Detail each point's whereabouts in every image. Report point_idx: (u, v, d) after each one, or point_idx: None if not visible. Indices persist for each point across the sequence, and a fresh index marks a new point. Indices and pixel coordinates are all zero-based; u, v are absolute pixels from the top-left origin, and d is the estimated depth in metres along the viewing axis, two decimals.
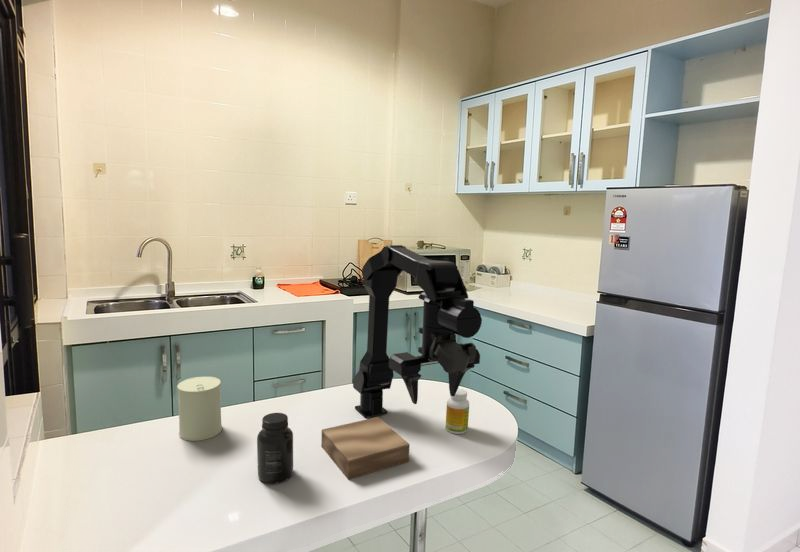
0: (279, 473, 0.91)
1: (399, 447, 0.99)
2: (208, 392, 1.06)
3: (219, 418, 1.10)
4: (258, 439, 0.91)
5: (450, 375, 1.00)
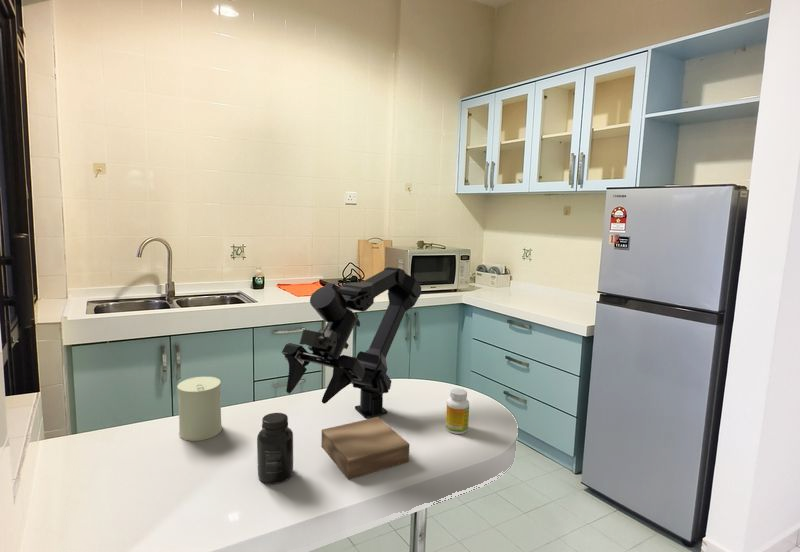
0: (279, 473, 0.91)
1: (399, 447, 0.99)
2: (208, 392, 1.06)
3: (219, 418, 1.10)
4: (258, 439, 0.91)
5: None
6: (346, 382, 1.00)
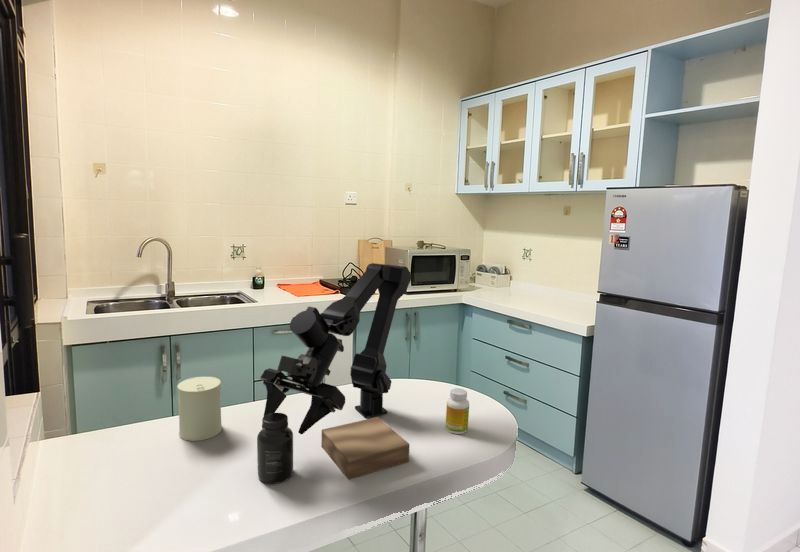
0: (279, 473, 0.91)
1: (399, 447, 0.99)
2: (208, 392, 1.06)
3: (219, 418, 1.10)
4: (258, 439, 0.91)
5: None
6: (325, 411, 0.96)
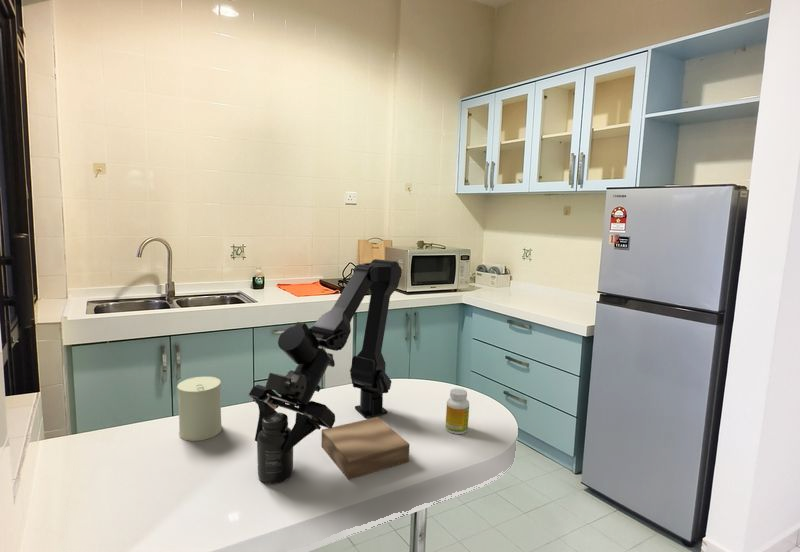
0: (279, 473, 0.91)
1: (399, 447, 0.99)
2: (208, 392, 1.06)
3: (219, 418, 1.10)
4: (258, 439, 0.91)
5: None
6: (310, 429, 0.94)
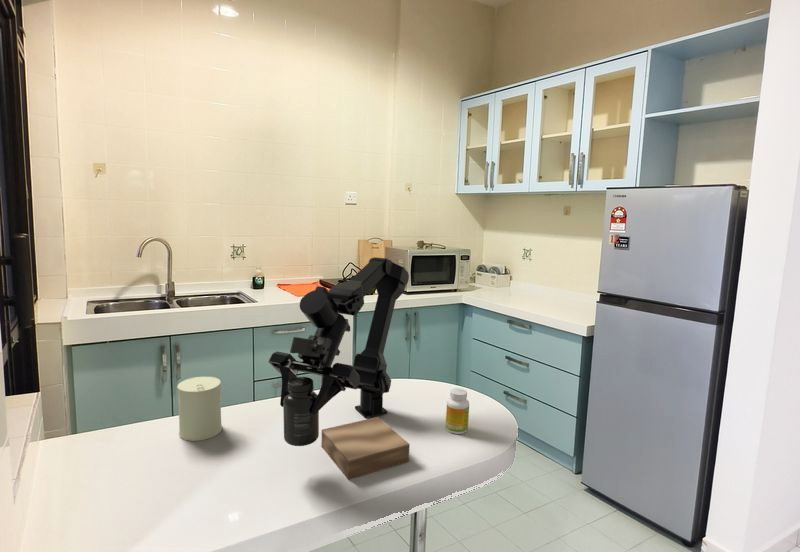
0: (307, 435, 0.92)
1: (399, 447, 0.99)
2: (208, 392, 1.06)
3: (219, 418, 1.10)
4: (285, 403, 0.91)
5: None
6: (336, 390, 0.95)
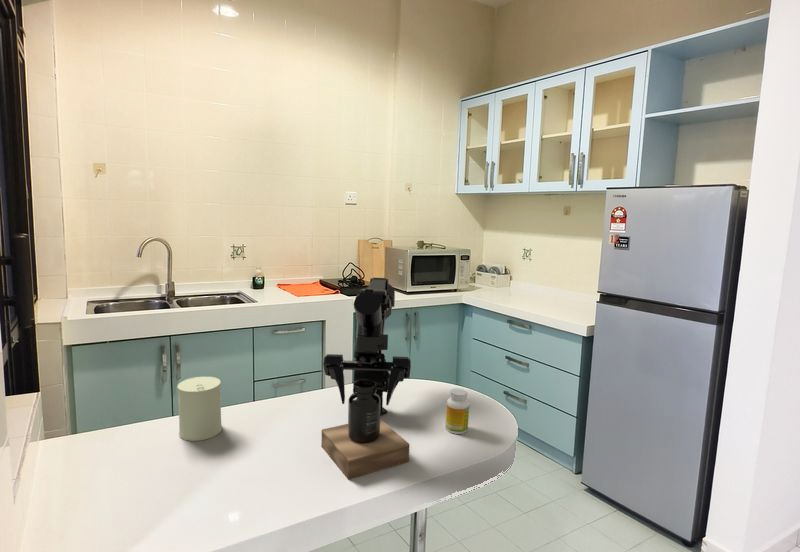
0: (376, 431, 1.01)
1: (399, 447, 0.99)
2: (208, 392, 1.06)
3: (219, 418, 1.10)
4: (356, 405, 0.98)
5: None
6: (396, 382, 1.05)
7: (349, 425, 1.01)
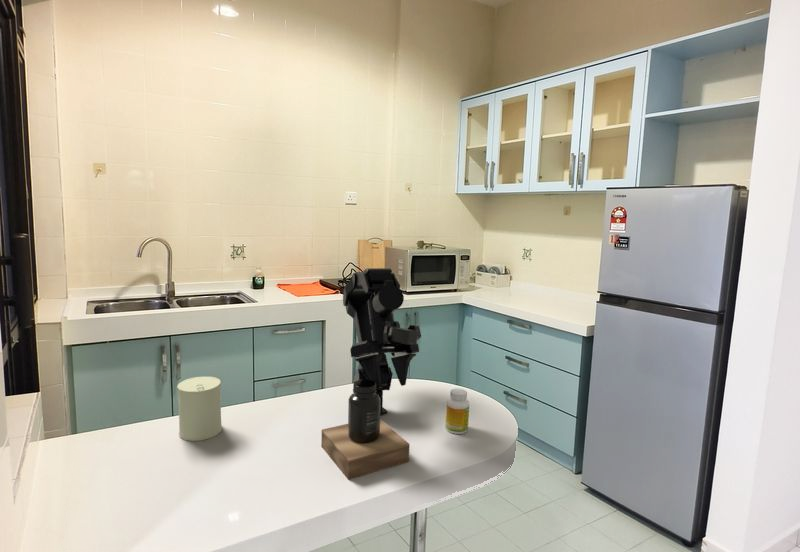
0: (376, 431, 1.01)
1: (399, 447, 0.99)
2: (208, 392, 1.06)
3: (219, 418, 1.10)
4: (356, 405, 0.99)
5: (397, 369, 1.14)
6: None
7: (349, 425, 1.01)
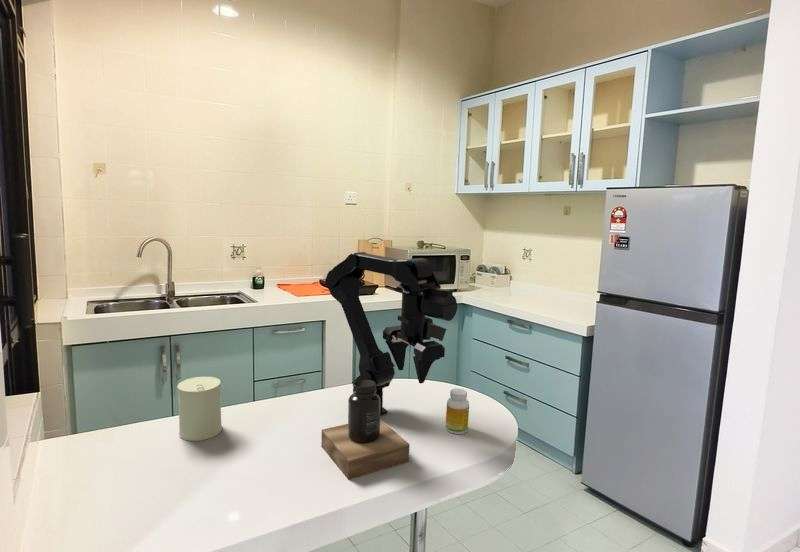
0: (376, 431, 1.01)
1: (399, 447, 0.99)
2: (208, 392, 1.06)
3: (219, 418, 1.10)
4: (356, 405, 0.98)
5: (397, 355, 1.17)
6: None
7: (349, 425, 1.01)
